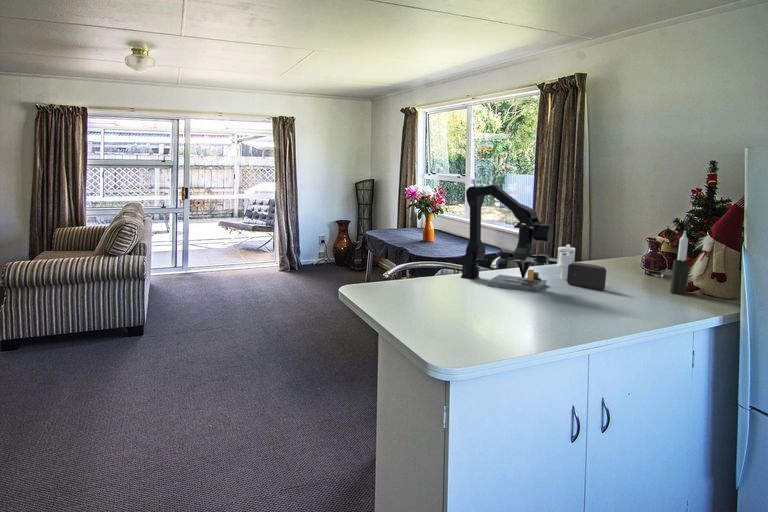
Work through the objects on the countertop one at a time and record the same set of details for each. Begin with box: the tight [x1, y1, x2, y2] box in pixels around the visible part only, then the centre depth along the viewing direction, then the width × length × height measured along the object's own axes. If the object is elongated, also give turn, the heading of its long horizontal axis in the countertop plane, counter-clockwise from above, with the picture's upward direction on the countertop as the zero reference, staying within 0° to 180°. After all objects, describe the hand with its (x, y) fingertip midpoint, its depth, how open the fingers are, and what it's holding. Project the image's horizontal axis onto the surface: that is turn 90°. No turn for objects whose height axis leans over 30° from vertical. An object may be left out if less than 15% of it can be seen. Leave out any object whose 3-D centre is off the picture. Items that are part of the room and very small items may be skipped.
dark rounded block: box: [566, 262, 607, 291], centre depth 219 cm, size 16×5×9 cm, turn 43°
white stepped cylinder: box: [556, 244, 576, 281], centre depth 233 cm, size 7×7×15 cm
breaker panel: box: [486, 271, 547, 293], centre depth 220 cm, size 20×16×5 cm
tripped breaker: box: [524, 269, 536, 283], centre depth 217 cm, size 4×3×5 cm
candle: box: [669, 230, 690, 295], centre depth 210 cm, size 5×5×25 cm
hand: (523, 277), depth 218 cm, fingers closed
